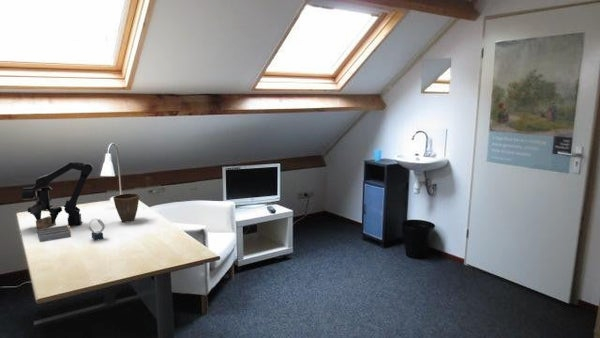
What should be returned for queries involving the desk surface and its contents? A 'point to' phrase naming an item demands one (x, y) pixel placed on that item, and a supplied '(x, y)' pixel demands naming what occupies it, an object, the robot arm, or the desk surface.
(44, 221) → the panel
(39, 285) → the desk surface
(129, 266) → the desk surface
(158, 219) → the desk surface
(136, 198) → the plant pot
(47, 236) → the rack
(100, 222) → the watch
